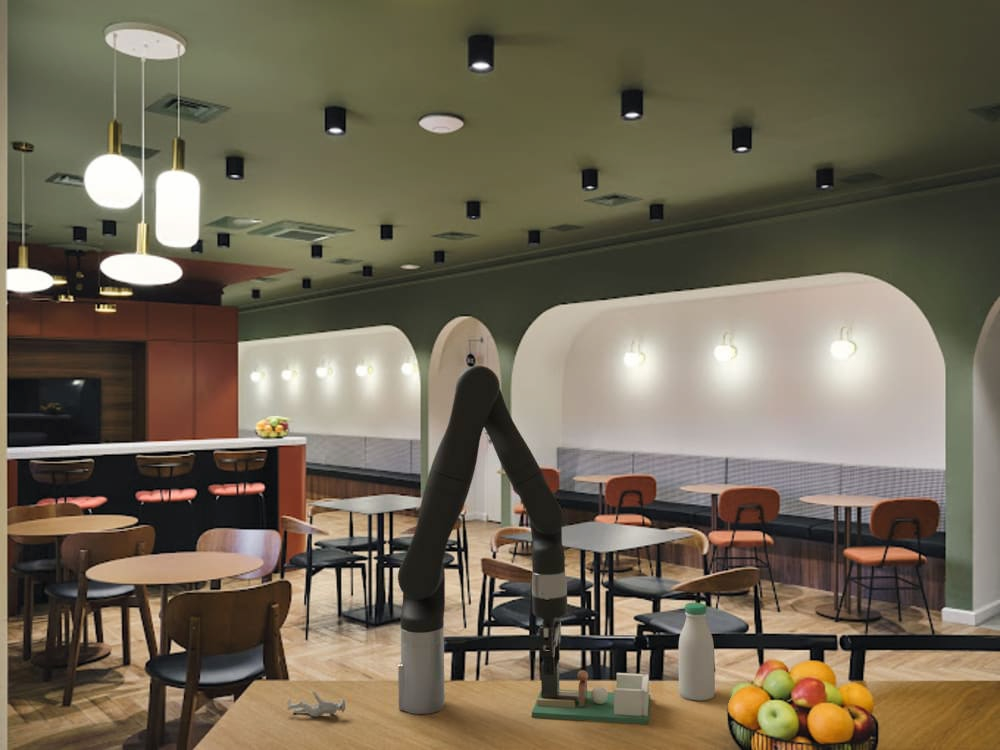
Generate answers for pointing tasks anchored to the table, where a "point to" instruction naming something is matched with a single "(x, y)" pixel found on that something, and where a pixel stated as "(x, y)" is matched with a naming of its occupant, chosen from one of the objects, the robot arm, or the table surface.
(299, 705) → the soldier figure
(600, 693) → the ball
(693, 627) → the milk bottle
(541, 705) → the pitch
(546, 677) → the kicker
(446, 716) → the table surface
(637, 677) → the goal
